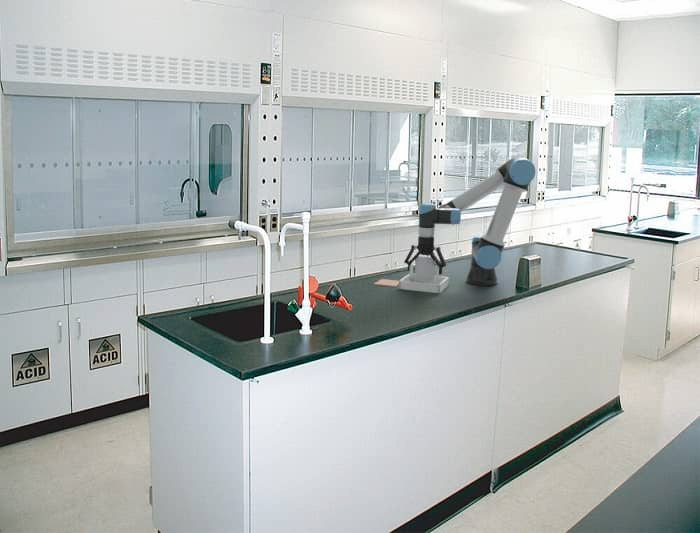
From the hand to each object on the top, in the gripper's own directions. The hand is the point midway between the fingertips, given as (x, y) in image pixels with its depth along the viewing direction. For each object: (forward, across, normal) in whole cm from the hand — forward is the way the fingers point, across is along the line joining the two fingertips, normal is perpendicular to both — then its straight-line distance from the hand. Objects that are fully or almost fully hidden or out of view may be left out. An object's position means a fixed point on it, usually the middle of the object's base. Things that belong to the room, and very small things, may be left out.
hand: (424, 279), depth 335 cm
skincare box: (+4, 0, 0) cm, 4 cm away
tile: (+4, +18, +1) cm, 18 cm away
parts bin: (+4, 0, 0) cm, 4 cm away
